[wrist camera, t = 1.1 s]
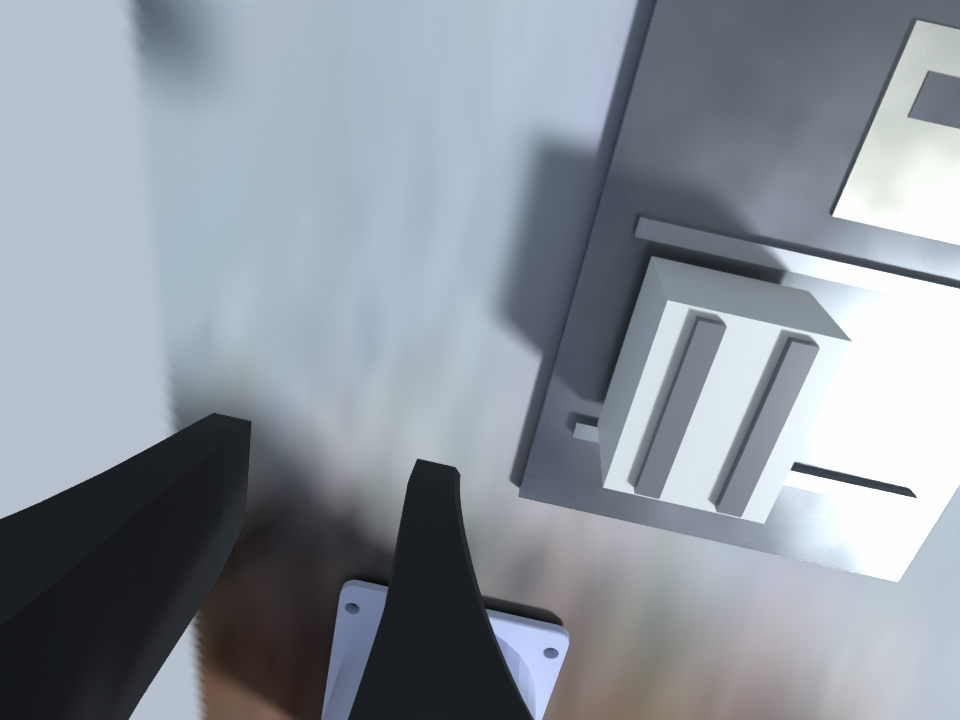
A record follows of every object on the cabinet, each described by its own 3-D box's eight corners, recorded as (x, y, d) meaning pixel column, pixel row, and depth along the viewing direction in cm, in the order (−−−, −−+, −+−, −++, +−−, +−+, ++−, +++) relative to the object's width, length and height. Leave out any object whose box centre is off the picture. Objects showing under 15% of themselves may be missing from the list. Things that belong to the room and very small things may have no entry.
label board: (892, 572, 23) (902, 589, 22) (519, 488, 23) (518, 502, 22) (1232, 20, 15) (1260, 21, 15) (684, -103, 15) (689, -108, 15)
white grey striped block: (736, 454, 20) (766, 530, 17) (597, 423, 20) (603, 494, 17) (808, 291, 18) (857, 346, 15) (651, 256, 18) (669, 304, 15)
